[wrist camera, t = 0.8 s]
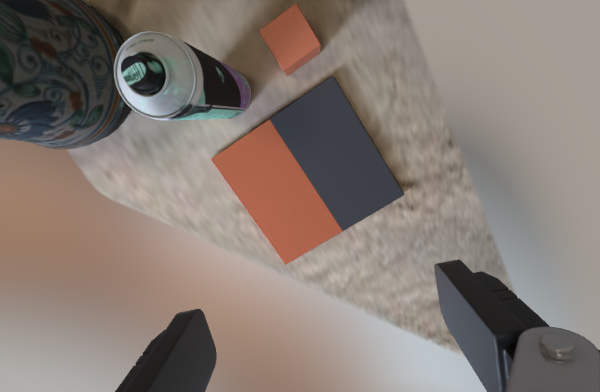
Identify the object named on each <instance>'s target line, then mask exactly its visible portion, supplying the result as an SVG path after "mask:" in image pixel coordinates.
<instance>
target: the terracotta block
mask: <svg viewBox="0 0 600 392" xmlns="http://www.w3.org/2000/svg"><path fill="white" fill-rule="evenodd" d="M259 33H260V34H261V36H262V38H263V39H264V41H265V42H266V44H267V46H268V47H269V49H270V50H271V52H272V53H273V55H274V57H275V58H276V60H277V61H278V63H279V65H280V66H281V68H282V69H283V71H284V72H285V73H286V75H287V76H288V75H290V74H291V73H292V72H294V71H295V70H297V69H298V68H300V67H301V66H302V65H304V64H305V63H307V62H308V61H309V60H311V59H312V58H314V57H315V56H317V55H318V54H319V53H320V48H321V44H320V42H319V41H318V39H317V37H316V36H315V34H314V32H313V30H312V29H311V27H310V25H309V24H308V22H307V20H306V19H305V17H304V15H303V14H302V12H301V10H300V9H299V7H298V5H297V4H294V5H293V6H292V7H290V8H289V9H288V10H286V11H285V12H284V13H282V14H281V15H280V16H278V17H277V18H276V19H274V20H273V21H272V22H270V23H269V24H268V25H266V26H265V27H263V28H262V29H261V30H259Z"/></svg>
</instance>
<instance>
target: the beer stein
mask: <svg viewBox="0 0 600 392" xmlns="http://www.w3.org/2000/svg"><path fill="white" fill-rule="evenodd" d="M123 43H124V41H123V39H122V37H121V35H120V33H119V31H118V30H117V29H116V28H115V27H113V26H112V25H111V24H110V23H109V22H108V21H107V20H106V19H105V18H104V17H103V16H101V15H100V14H99V13H98V12H97V11H96V10H95V9H94V8H93V7H92V6H89V5H87V4H86V3H85V2H84V1H82V0H0V138H1V139H11V140H20V141H26V142H31V143H34V144H37V145H40V146H43V147H47V148H53V149H72V148H79V147H83V146H86V145H89V144H91V143H94V142H96V141H98V140H100V139H102V138H105V137H107V136H108V135H110V134H111V133H113V132H114V131H115V130H117V129H118V128H119V126H120V125H121V124H122V122H123V121H124V120H125V118H126V117H127V115H128V114H129V113H130V111H131V109H132V108H130V107H129V106H128V105H127V103H126V102H125V101H124V100H123V98H122V97H121V95H120V93H119V91H118V89H117V86H116V83H115V78H114V64H115V59H116V56H117V53H118V51H119V49H120V48H121V46H122V44H123Z"/></svg>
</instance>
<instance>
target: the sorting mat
mask: <svg viewBox="0 0 600 392" xmlns="http://www.w3.org/2000/svg"><path fill="white" fill-rule="evenodd" d="M211 160H212V161H213V163H214V164H215V166H216V167H217V168H218V170H219V171H220V173H221V174H222V175H223V177H224V178H225V180H226V181H227V183H228V184H229V185H230V187H231V188H232V190H233V191H234V192H235V194H236V195H237V197H238V198H239V199H240V201H241V202H242V204H243V205H244V207H245V208H246V209H247V211H248V212H249V214H250V215H251V216H252V218H253V219H254V221H255V222H256V223H257V225H258V226H259V228H260V229H261V231H262V232H263V233H264V235H265V236H266V238H267V239H268V240H269V242H270V243H271V245H272V246H273V247H274V249H275V250H276V252H277V253H278V255H279V256H280V257H281V259H282V260H283V262H284V263H285V264H287V263H289V262H291V261H292V260H294V259H296V258H298V257H299V256H301V255H303V254H304V253H306V252H308V251H309V250H311V249H313V248H315V247H316V246H318V245H320V244H321V243H323V242H325V241H326V240H328V239H330V238H332V237H333V236H335V235H337V234H338V233H340V232H342V231H344V230H345V229H347V228H349V227H350V226H352V225H354V224H355V223H357V222H359V221H361V220H362V219H364V218H366V217H367V216H369V215H371V214H372V213H374V212H376V211H378V210H379V209H381V208H383V207H384V206H386V205H388V204H389V203H391V202H393V201H395V200H396V199H398V198H400V197H401V196H403V195H404V193H403V192H402V190H401V188H400V187H399V185H398V183H397V182H396V180H395V178H394V177H393V175H392V173H391V172H390V170H389V168H388V167H387V165H386V163H385V162H384V160H383V158H382V157H381V155H380V153H379V152H378V150H377V148H376V147H375V145H374V143H373V142H372V140H371V138H370V137H369V135H368V134H367V132H366V130H365V129H364V127H363V125H362V124H361V122H360V120H359V119H358V117H357V115H356V114H355V112H354V110H353V109H352V107H351V105H350V104H349V102H348V100H347V99H346V97H345V95H344V94H343V92H342V90H341V89H340V87H339V85H338V84H337V82H336V80H335V79H334V77H333V76H331V77H330V78H329V79H327V80H326V81H324V82H323V83H321V84H320V85H318V86H317V87H315V88H314V89H313V90H311V91H310V92H308V93H307V94H305V95H304V96H302V97H301V98H299V99H298V100H297V101H295V102H294V103H292V104H291V105H289V106H288V107H286V108H285V109H283V110H282V111H281V112H279V113H278V114H276V115H275V116H273V117H272V118H270V119H269V120H267V121H266V122H265V123H263V124H262V125H260V126H259V127H257V128H256V129H254V130H253V131H251V132H250V133H248V134H247V135H246V136H244V137H243V138H241V139H240V140H238V141H237V142H235V143H234V144H232V145H231V146H230V147H228V148H227V149H225V150H224V151H222V152H221V153H219V154H218V155H216V156H215V157H214V158H212V159H211Z"/></svg>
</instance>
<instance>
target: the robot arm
mask: <svg viewBox="0 0 600 392" xmlns="http://www.w3.org/2000/svg"><path fill="white" fill-rule="evenodd" d="M435 276H436V282H437V289H438V295H439V302H440V308H441V312H442V315H443V318H444V321H445V323H446V325H447V327H448V329H449V330H450V332H451V334H452V335H453V337H454V338H455V340H456V342H457V343H458V345H459V347H460V348H461V350H462V351H463V353H464V355H465V356H466V358H467V360H468V361H469V363H470V365H471V366H472V368H473V369H474V371H475V373H476V374H477V376H478V377H479V379H480V381H481V382H482V384H483V386H484V387H485V389H486V390H487V392H600V350H598V349H597V348H596V347H595V345H594V344H592V343H591V342H590V341H589V340H587V339H586V338H584V337H582V336H581V335H579V334H576V333H574V332H571V331H568V330H565V329H561V328H555V327H550V326H549V325H548V324H547V323H546V322H545V321H543V320H542V319H541V318H540V317H539V316H538V315H537V314H536V313H535V312H533V310H531V309H530V308H529V307H528V306H527V305H526V304H525V303H524V302H523V301H521V300H520V299H518V298H517V296H516V295H515V294H514V293H513V292H512V291H511V290H508V288H507V287H506V286H505V285H504V284H503V283H502V282H501V281H500V280H499V279H498V278H495V277H493V276H491V275H488V274H486V273H484V272H476V273H472V272H471V271H470V270H469V268H468V267H467V266H466V265H465V264H464V263H463V262H462V261H461V260H454V261H449V262H443V263H438V264H435ZM215 364H216V348H215V344H214V341H213V339H212V336H211V333H210V330H209V327H208V324H207V322H206V319H205V315H204V313H203V312H202V310H200V309H196V310H191V311H185V312H180V313H177V314H176V315H175V317H174V318H173V320H172V321H171V323H170V324H169V326H168V327H167V329H166V330H164V331H163V332H162V333H160V334H159V335H158V336H157V337H156V338H155V339H154V340H153V341H151V343H150V344H149V345H148V347H147V348H146V350H145V351H144V352H143V355H142V356H140V358H139V359H138V361H137V362H136V366H133V368H132V369H131V370H130V372H129V373H128V375H127V376H126V377H125V379H124V380H123V382H122V383H121V384H120V386H119V387H118V389H117V390H116V391H115V392H205V390H206V388H207V385H208V383H209V380H210V378H211V375H212V373H213V370H214V368H215Z"/></svg>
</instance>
